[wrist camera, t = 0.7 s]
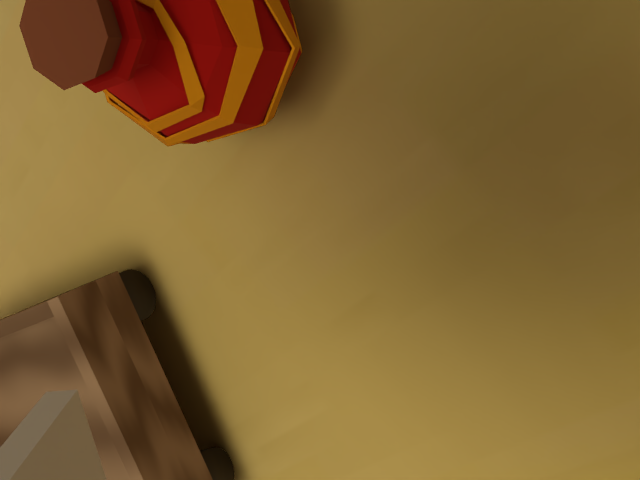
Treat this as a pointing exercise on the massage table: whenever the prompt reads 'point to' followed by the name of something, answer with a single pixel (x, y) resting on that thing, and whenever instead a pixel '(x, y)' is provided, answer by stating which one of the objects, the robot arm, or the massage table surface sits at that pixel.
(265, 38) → the potion bottle
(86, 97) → the massage table surface
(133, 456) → the dolly
